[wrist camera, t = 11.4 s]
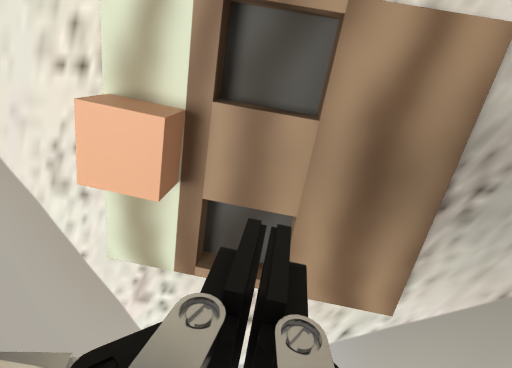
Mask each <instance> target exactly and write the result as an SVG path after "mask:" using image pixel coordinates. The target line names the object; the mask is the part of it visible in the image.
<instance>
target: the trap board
mask: <svg viewBox="0 0 512 368" xmlns="http://www.w3.org/2000/svg"><path fill="white" fill-rule="evenodd" d="M100 2H101V40H102V78H103V94H113V95H118V96H123V97H127V98H132V99H137V100H141V101H146V102H151V103H156V104H160V105H165V106H170V107H175V108H179V109H184V110H185V120H184V130H183V140H182V150H181V160H180V170H179V180H178V183H177V184H176V185H175V186H174V187H173V188H172V189H171V190H170V191H169V192H168V193H167V194H166V195H165V196H164V197H163V198H162V199H161V200H160V201H159V202H156V201H152V200H147V199H143V198H138V197H134V196H129V195H125V194H120V193H116V192H111V191H107V190H105V191H106V229H107V257H108V258H113V259H117V260H122V261H127V262H132V263H137V264H142V265H146V266H151V267H156V268H161V269H166V270H171V271H176V272H180V273H185V274H190V275H195V276H200V277H205V278H207V276H208V274H209V272H210V269H211V267H212V265H213V262H214V260H215V258H216V256H217V253H218V251H219V249H220V247H226V248H230V249H235V250H238V247H239V244H240V241H241V238H242V235H243V232H244V229H245V226H246V223H247V220H248V218H252V219H257V220H262V225H267V227H266V232H265V237H264V242H263V247H262V252H261V257H260V263H259V268H258V273H257V278H256V283H255V287H254V288H258V289H259V284H260V279H261V274H262V269H263V264H264V259H265V255H266V250H267V245H268V240H269V235H270V230H271V226H272V227H277V224H281V225H286V226H290V227H292V229H291V246H290V262H295V263H299V264H304V265H306V267H307V299H311V300H316V301H321V302H326V303H330V304H335V305H340V306H345V307H350V308H355V309H359V310H364V311H369V312H374V313H379V314H384V315H389V316H393V313H394V311H395V309H396V306H397V304H398V302H399V299H400V297H401V295H402V292H403V290H404V288H405V285H406V283H407V281H408V278H409V276H410V274H411V271H412V269H413V267H414V264H415V262H416V260H417V258H418V255H419V253H420V251H421V248H422V246H423V244H424V241H425V239H426V237H427V234H428V232H429V230H430V227H431V225H432V223H433V220H434V218H435V216H436V213H437V211H438V209H439V206H440V204H441V202H442V199H443V197H444V195H445V192H446V190H447V188H448V185H449V183H450V181H451V179H452V176H453V174H454V172H455V169H456V167H457V165H458V162H459V160H460V158H461V155H462V153H463V151H464V148H465V146H466V144H467V141H468V139H469V137H470V134H471V132H472V130H473V127H474V125H475V123H476V120H477V118H478V116H479V113H480V111H481V109H482V106H483V104H484V102H485V100H486V97H487V95H488V93H489V90H490V88H491V86H492V83H493V81H494V79H495V76H496V74H497V72H498V69H499V67H500V65H501V62H502V60H503V58H504V55H505V53H506V51H507V48H508V46H509V44H510V41H511V39H512V22H510V21H504V20H497V19H491V18H485V17H479V16H473V15H467V14H460V13H454V12H448V11H442V10H436V9H429V8H423V7H417V6H411V5H405V4H399V3H392V2H386V1H380V0H100Z"/></svg>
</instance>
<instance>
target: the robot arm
mask: <svg viewBox="0 0 512 368" xmlns="http://www.w3.org/2000/svg"><path fill="white" fill-rule="evenodd" d="M266 227H267V225H262V220H257V219H252V218H248V220H247V223H246V226H245V229H244V232H243V235H242V238H241V241H240V244H239V247H238V250H235V249H230V248H226V247H220V249H219V251H218V253H217V256H216V258H215V260H214V262H213V265H212V267H211V269H210V272H209V274H208V276H207V278H206V281H205V283H204V285H203V288H202V290H201V292H200V293H194V294H190V295H187V296H185V297H183V298H181V299H180V300H179V301H178V302H177V303H176V305H175V306H174V307H173V309H172V310H171V311H170V313H169V314H168V315H167V317H166V318H165V319H164V321H162V322H160V323H158V324H155V325H153V326H150V327H148V328H145V329H143V330H140V331H138V332H135V333H133V334H130V335H128V336H126V337H123V338H121V339H118V340H116V341H114V342H111V343H108V344H106V345H103V346H101V347H98V348H96V349H94V350H92V351H90V352H88V353H86V354H84V355H83V356H81V357H73V354H72V353H50V352H49V353H48V352H0V368H238V365H239V360H240V355H241V350H242V345H243V341H244V336H245V331H246V326H247V321H248V316H249V312H250V307H251V302H252V297H253V292H254V287H255V283H256V278H257V273H258V268H259V263H260V257H261V252H262V247H263V242H264V237H265V232H266ZM291 229H292V227H290V226H286V225H281V224H277V227H272V226H271V230H270V235H269V240H268V245H267V250H266V255H265V259H264V264H263V269H262V274H261V279H260V284H259V289H258V294H257V299H256V305H255V310H254V315H253V320H252V326H251V331H250V336H249V342H248V347H247V352H246V358H245V363H244V368H338V366H337V365H336V364H335V363H334V362H333V359H332V355H331V352H330V348H329V343H328V340H327V337H326V335H325V332H324V331H323V329H322V328H321V327H320V326H319V325H318V324H317V323H316V322H315V321H313V320H312V319H310V318H308V299H307V267H306V265H304V264H299V263H295V262H290V246H291Z"/></svg>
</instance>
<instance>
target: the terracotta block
mask: <svg viewBox="0 0 512 368" xmlns="http://www.w3.org/2000/svg"><path fill="white" fill-rule="evenodd" d="M74 104H75V132H76V161H77V184H80V185H84V186H89V187H93V188H98V189H102V190H107V191H111V192H116V193H120V194H125V195H129V196H134V197H138V198H143V199H147V200H152V201H156V202H159V201H160V200H161V199H162V198H163V197H164V196H165V195H166V194H167V193H168V192H169V191H170V190H171V189H172V188H173V187H174V186H175V185H176V184H177V183H178V180H179V170H180V160H181V150H182V140H183V130H184V120H185V110H184V109H179V108H175V107H170V106H165V105H160V104H156V103H151V102H146V101H141V100H137V99H132V98H127V97H123V96H118V95H113V94H103V95H96V96H89V97H82V98H75V99H74Z"/></svg>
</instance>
